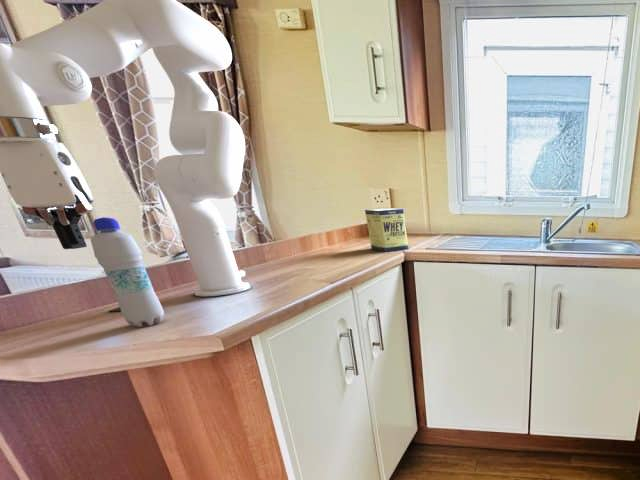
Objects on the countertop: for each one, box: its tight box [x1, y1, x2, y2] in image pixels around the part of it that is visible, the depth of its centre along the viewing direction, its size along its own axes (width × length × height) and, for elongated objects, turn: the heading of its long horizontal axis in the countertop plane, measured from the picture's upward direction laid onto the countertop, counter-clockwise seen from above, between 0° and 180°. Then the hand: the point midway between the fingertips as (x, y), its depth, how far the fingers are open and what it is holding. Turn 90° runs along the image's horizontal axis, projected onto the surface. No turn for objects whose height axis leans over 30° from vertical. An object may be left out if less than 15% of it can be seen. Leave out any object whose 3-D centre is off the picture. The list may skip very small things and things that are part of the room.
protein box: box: [364, 208, 409, 252], centre depth 175 cm, size 10×16×16 cm
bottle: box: [90, 216, 165, 328], centre depth 81 cm, size 7×7×20 cm
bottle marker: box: [108, 306, 121, 313], centre depth 97 cm, size 5×5×1 cm
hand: (75, 247), depth 78 cm, fingers closed
